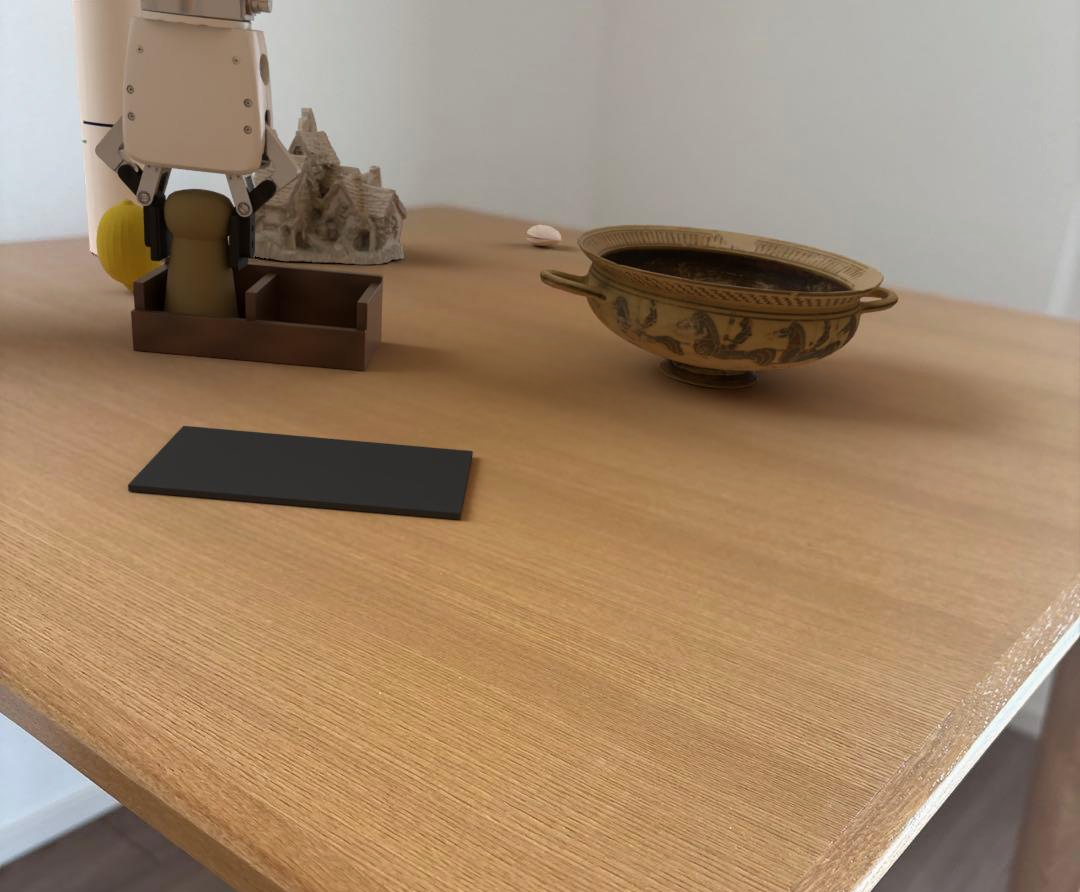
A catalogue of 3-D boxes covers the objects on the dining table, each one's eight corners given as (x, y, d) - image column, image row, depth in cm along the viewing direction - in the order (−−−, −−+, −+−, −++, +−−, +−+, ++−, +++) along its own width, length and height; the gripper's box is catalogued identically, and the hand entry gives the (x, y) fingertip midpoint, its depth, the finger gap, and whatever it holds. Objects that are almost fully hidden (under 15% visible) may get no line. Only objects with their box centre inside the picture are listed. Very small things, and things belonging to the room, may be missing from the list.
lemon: (139, 301, 98) (134, 206, 95) (86, 291, 100) (79, 198, 97) (177, 290, 103) (173, 200, 100) (126, 281, 105) (120, 192, 101)
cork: (211, 349, 85) (209, 200, 81) (144, 335, 87) (139, 187, 83) (256, 334, 91) (257, 193, 86) (192, 321, 92) (190, 181, 88)
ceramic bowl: (562, 418, 79) (577, 275, 75) (506, 330, 100) (515, 215, 96) (949, 427, 85) (982, 295, 81) (819, 343, 107) (840, 235, 103)
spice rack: (132, 350, 85) (128, 277, 83) (170, 322, 93) (167, 254, 91) (364, 371, 85) (366, 298, 83) (381, 340, 94) (383, 274, 91)
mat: (127, 491, 61) (127, 484, 61) (183, 431, 70) (183, 425, 70) (460, 519, 61) (460, 513, 61) (472, 456, 71) (472, 450, 70)
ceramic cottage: (212, 245, 122) (218, 98, 116) (321, 238, 135) (332, 105, 129) (315, 281, 115) (328, 127, 109) (420, 270, 128) (436, 132, 122)
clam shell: (544, 242, 144) (546, 222, 143) (571, 250, 141) (573, 229, 140) (519, 244, 141) (521, 223, 140) (546, 251, 138) (548, 230, 137)
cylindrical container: (121, 262, 112) (103, -18, 101) (74, 250, 115) (53, -23, 105) (178, 255, 117) (167, -12, 107) (132, 243, 121) (117, -17, 110)
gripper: (328, 17, 83) (321, 265, 90) (93, -11, 82) (106, 241, 90) (307, 15, 76) (302, 284, 83) (51, -15, 75) (68, 259, 83)
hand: (200, 259), depth 86 cm, fingers closed on cork, 5 cm apart
